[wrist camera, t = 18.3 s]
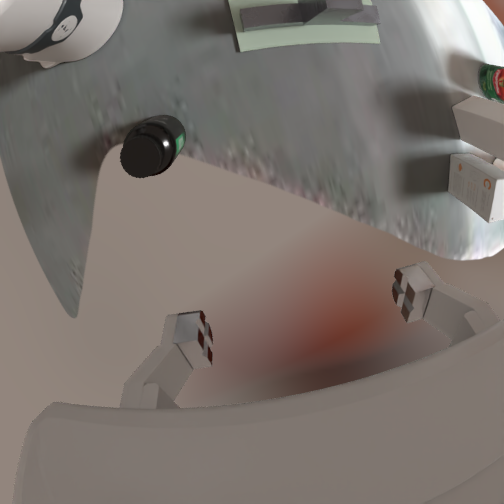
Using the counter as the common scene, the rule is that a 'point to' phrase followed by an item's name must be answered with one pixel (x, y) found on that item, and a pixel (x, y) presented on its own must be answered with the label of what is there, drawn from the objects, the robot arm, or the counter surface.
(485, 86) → the canned tomato
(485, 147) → the milk carton
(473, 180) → the small box
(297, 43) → the mat
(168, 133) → the supplement bottle
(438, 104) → the counter surface
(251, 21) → the grey inverted t block
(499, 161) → the cup
